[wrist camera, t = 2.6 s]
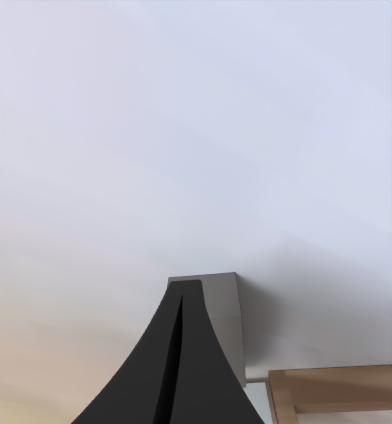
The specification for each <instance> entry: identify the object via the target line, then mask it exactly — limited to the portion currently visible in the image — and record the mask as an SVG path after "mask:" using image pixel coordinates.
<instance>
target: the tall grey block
mask: <svg viewBox="0 0 392 424" xmlns="http://www.w3.org/2000/svg"><path fill="white" fill-rule="evenodd" d="M195 279H199V280H201V281H202V286H203V292H204V299H205V305H206V309H207V312H208V315H209V318H210V321H211V324H212V327H213V329H214V332H215V334H216V337H217V339H218V341H219V344H220V346H221V348H222V350H223V352H224V354H225V356H226V358H227V361H228V362H229V364H230V366H231V368H232V370H233V372H234V374H235V376H236V377H237V379H238V381H239V383H240V384H241V386H242V388H246V377H245V362H244V346H243V330H242V315H241V309H240V302H239V295H238V288H237V282H236V275H235V272H232V273H219V274H207V275H194V276H181V277H169V279H168V285H169V283H170V282H171V281H182V280H195ZM168 285H167V288H168Z"/></svg>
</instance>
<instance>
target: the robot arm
mask: <svg viewBox="0 0 392 424" xmlns="http://www.w3.org/2000/svg"><path fill="white" fill-rule="evenodd" d="M71 424H265V423H264V422H263V420H262V419H261V417H260V416H259V414H258V412H257V411H256V409H255V408H254V406H253V405H252V403H251V401H250V400H249V398H248V397H247V395H246V393H245V391H244V390H243V388H242V386H241V384H240V383H239V381H238V379H237V377H236V376H235V374H234V372H233V370H232V368H231V366H230V364H229V362H228V361H227V358H226V356H225V354H224V352H223V350H222V348H221V346H220V344H219V341H218V339H217V337H216V334H215V332H214V329H213V327H212V324H211V321H210V318H209V315H208V312H207V309H206V305H205V299H204V292H203V286H202V281H201V280H199V279H195V280H182V281H171V282H170V283H169V285H168V288H167V290H166V292H165V295H164V297H163V299H162V301H161V303H160V305H159V307H158V309H157V311H156V313H155V314H154V316H153V318H152V320H151V322H150V324H149V325H148V327H147V329H146V330H145V332H144V333H143V335H142V337H141V338H140V340H139V342H138V343H137V345H136V346H135V348H134V349H133V351H132V352H131V353H130V355H129V356H128V358H127V359H126V360H125V362H124V363H123V365H122V366H121V367H120V368H119V370H118V371H117V372H116V374H115V375H114V376H113V377H112V379H111V380H110V381H109V382H108V384H107V385H106V386H105V387H104V388H103V389H102V391H101V392H100V393H99V394H98V395H97V396H96V397H95V398H94V400H93V401H92V402H91V403H90V404H89V405H88V406H87V407H86V408H85V409H84V411H83V412H82V413H81V414H80V415H79V416H78V417H77V418H76V419H75V420H74V421H73V422H72V423H71Z"/></svg>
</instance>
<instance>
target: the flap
mask: <svg viewBox="0 0 392 424" xmlns="http://www.w3.org/2000/svg"><path fill="white" fill-rule="evenodd" d="M243 390H244V391H245V393H246V395H247V397H248V398H249V400H250V401H251V403H252V405H253V406H254V408H255V409H256V411H257V412H258V414H259V416H260V417H261V419H262V420H263V422H264V423H265V424H273V423H272V417H271V412H270V407H269V401H268V396H267V391H266V386H265V382H264V383H246V388H243Z"/></svg>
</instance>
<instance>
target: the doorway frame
mask: <svg viewBox="0 0 392 424" xmlns="http://www.w3.org/2000/svg"><path fill="white" fill-rule="evenodd" d="M269 385H270V390H271V395H272V400H273V405H274V410H275V415H276V420H277V424H298V421H297V417H296V414H297V413H324V412H351V411H378V410H392V365H379V366H359V367H339V368H319V369H298V370H278V371H269Z"/></svg>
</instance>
